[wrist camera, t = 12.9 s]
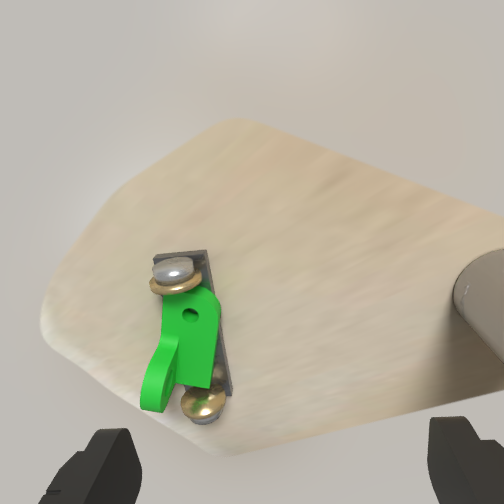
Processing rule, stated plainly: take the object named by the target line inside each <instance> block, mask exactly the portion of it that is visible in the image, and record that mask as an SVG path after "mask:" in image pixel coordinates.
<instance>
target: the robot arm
mask: <svg viewBox="0 0 504 504" xmlns="http://www.w3.org/2000/svg"><path fill="white" fill-rule="evenodd" d="M453 295H454V303H455V307H456V309H457V311H458V312H459V314H460V315H461V316H462V317H463V318H464V320H465V321H466V322H467V323H468V324H469V325H470V326H471V327H472V329H473V330H474V331H475V332H476V333H477V334H478V335H479V337H480V338H481V339H482V340H483V341H484V342H485V343H486V344H487V346H488V347H489V348H490V349H491V350H492V351H493V352H494V353H495V355H496V356H497V357H498V358H499V359H500V360H501V361H502V362H503V363H504V249H501V250H497V251H493V252H490V253H487V254H485V255H483V256H481V257H479V258H478V259H476V260H475V261H473V262H472V263H471V264H470V265H468V266H467V267H466V268H465V269H464V271H463V272H462V273H461V275H460V276H459V278H458V280H457V282H456V284H455V288H454V293H453ZM427 462H428V470H429V475H430V479H431V483H432V486H433V489H434V491H435V493H436V496H437V499H438V501H439V503H440V504H504V448H503V447H502V446H501V445H500V444H499V443H498V442H497V441H495V440H480V439H479V437H478V435H477V434H476V432H475V430H474V429H473V427H472V425H471V424H470V422H469V421H468V420H467V419H466V418H465V417H464V416H459V417H458V416H457V417H433V418H431V419H430V426H429V442H428V457H427ZM141 481H142V468H141V464H140V461H139V458H138V455H137V452H136V449H135V446H134V443H133V440H132V438H131V435H130V432H129V430H128V429H126V428H118V429H100V430H98V431H96V432H95V434H94V435H93V437H92V438H91V440H90V442H89V444H88V446H87V447H86V449H85V451H77V452H76V454H74V455H73V456H72V457H71V458H70V459H69V460H68V461H67V462H66V463H65V464H64V465H63V466H62V467H61V468H60V469H59V471H58V473H57V474H56V476H55V477H54V479H53V481H52V482H51V484H50V485H49V487H48V489H47V490H46V494H45V495H43V497H42V498H41V500H40V502H39V503H38V504H135V502H136V499H137V496H138V494H139V491H140V487H141Z"/></svg>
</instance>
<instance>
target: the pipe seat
mask: <svg viewBox="0 0 504 504" xmlns="http://www.w3.org/2000/svg"><path fill="white" fill-rule="evenodd" d="M153 261H154V266H153V268H152V271H153V275H154V277H153V278H152V279H151V280H150V282H149V284H150V288H151V291H152V292H153V293H155V294H158V295H162V297H163V295H173V294H178V293H182V292H185V291H188V290H190V289H192V288H194V287H196V286H201V287H204V288H206V289H208V290H209V291H211V292H212V293H213V294H214V295H215V292H214V287H213V281H212V276H211V271H210V265H209V260H208V255H207V250H198V251H188V252H177V253H167V254H157V255H156V256H155V257H154V258H153ZM187 309H188V310H189V311H190V312H192V313H198V312H197V311H196V310H194V309H192V308H187ZM184 386H185V390H186V392H185V393H184V395H183V396H182V399H181V408H182V411H183V413H184V414H185V415H186V416H187V417H188V418H190V419H191V421H192V422H193V423H195V424H199V425H205V424H209V423H212V422H213V421H215V420H216V419H218V418H219V416H220V415H221V413H222V410H223V406H224V404H225V401H226V396H232V390H233V388H232V382H231V377H230V372H229V366H228V361H227V356H226V350H225V345H224V340H223V334H222V329H221V324H220V323H219V330H218V338H217V345H216V353H215V360H214V368H213V375H212V380H211V384H210V388H209V389H208V388H202V387H196V386H190V385H184Z"/></svg>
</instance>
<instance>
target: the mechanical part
mask: <svg viewBox="0 0 504 504" xmlns="http://www.w3.org/2000/svg"><path fill="white" fill-rule="evenodd" d="M187 308H192V309H194V310H196V311H197V312H198V313H192V312H190V311H189V310H188V309H187ZM220 316H221V307H220V303H219V301H218V299H217V298H216V296H215V295H214V294H213V293H212V292H211V291H209V290H208V289H206V288H204V287H201V286H196V287H194V288H192V289H190V290H188V291H185V292H182V293H178V294H173V295H163V311H162V328H161V337H160V342H159V345H158V347H157V349H156V351H155V353H154V355H153V357H152V359H151V361H150V363H149V365H148V368H147V370H146V373H145V377H144V380H143V385H142V389H141V396H140V407H141V409H142V410H147V411H153V412H159V413H163V411H164V410H165V408H166V406H167V403H168V400H169V398H170V395H171V393H172V390H173V388H174V385H175V383H178V384H184V385H190V386H196V387H202V388H208V389H209V388H210V384H211V380H212V375H213V368H214V360H215V353H216V345H217V338H218V330H219V323H220Z"/></svg>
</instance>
